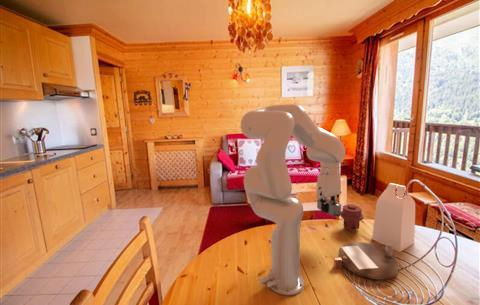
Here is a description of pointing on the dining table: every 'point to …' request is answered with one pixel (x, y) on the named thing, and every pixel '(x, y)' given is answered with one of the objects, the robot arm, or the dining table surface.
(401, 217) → the milk
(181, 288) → the dining table surface
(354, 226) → the mechanical component
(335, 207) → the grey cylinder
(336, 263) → the wheel stand
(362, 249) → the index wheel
